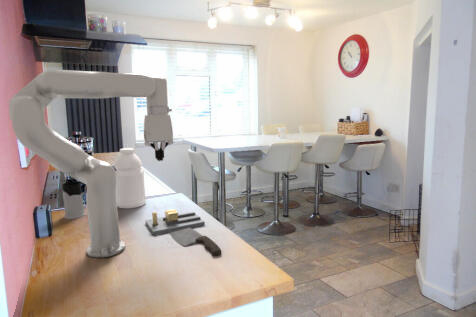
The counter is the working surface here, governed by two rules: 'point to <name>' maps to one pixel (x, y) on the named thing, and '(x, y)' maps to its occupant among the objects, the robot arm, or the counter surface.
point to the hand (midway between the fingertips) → (159, 160)
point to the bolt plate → (173, 223)
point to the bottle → (129, 180)
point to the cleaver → (194, 239)
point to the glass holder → (73, 200)
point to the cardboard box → (171, 215)
